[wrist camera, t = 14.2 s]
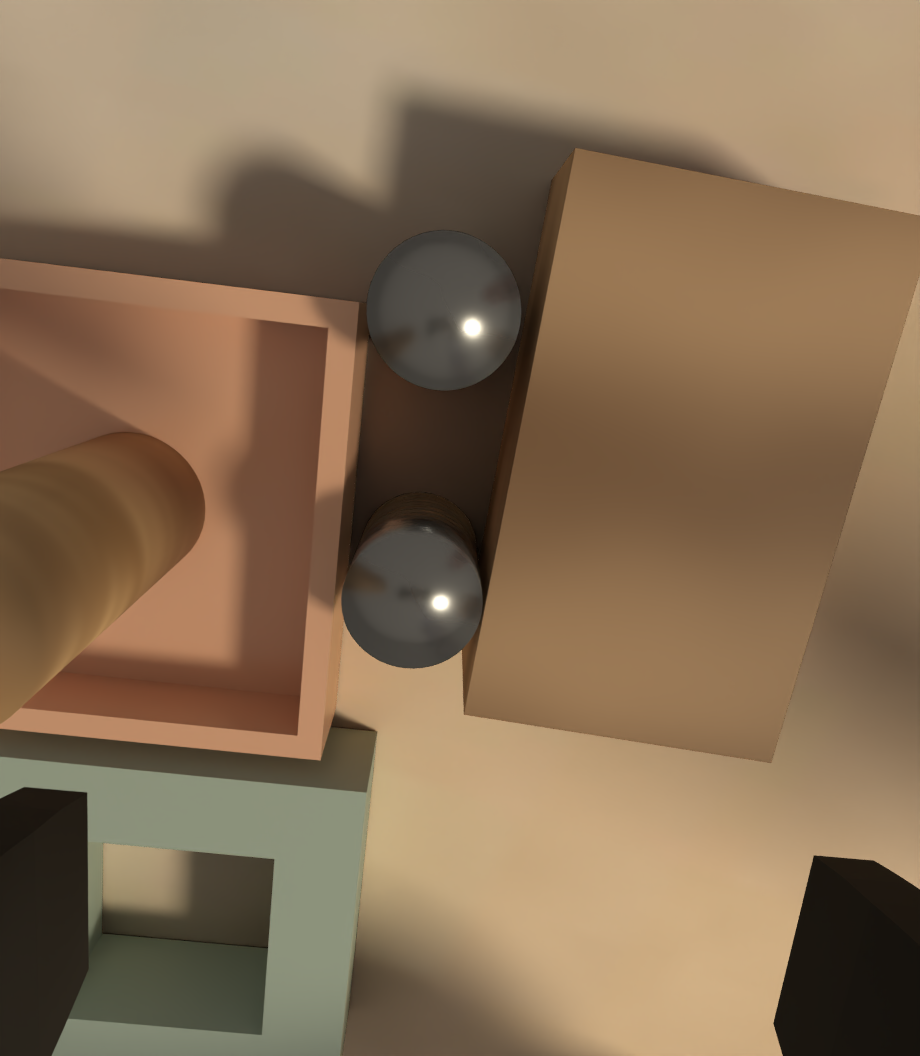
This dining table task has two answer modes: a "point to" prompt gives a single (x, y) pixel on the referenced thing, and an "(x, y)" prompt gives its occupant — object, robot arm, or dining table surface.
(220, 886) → the dining table surface
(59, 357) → the dish
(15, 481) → the dowel
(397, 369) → the cylinder
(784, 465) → the brown wooden block
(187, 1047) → the socket block
